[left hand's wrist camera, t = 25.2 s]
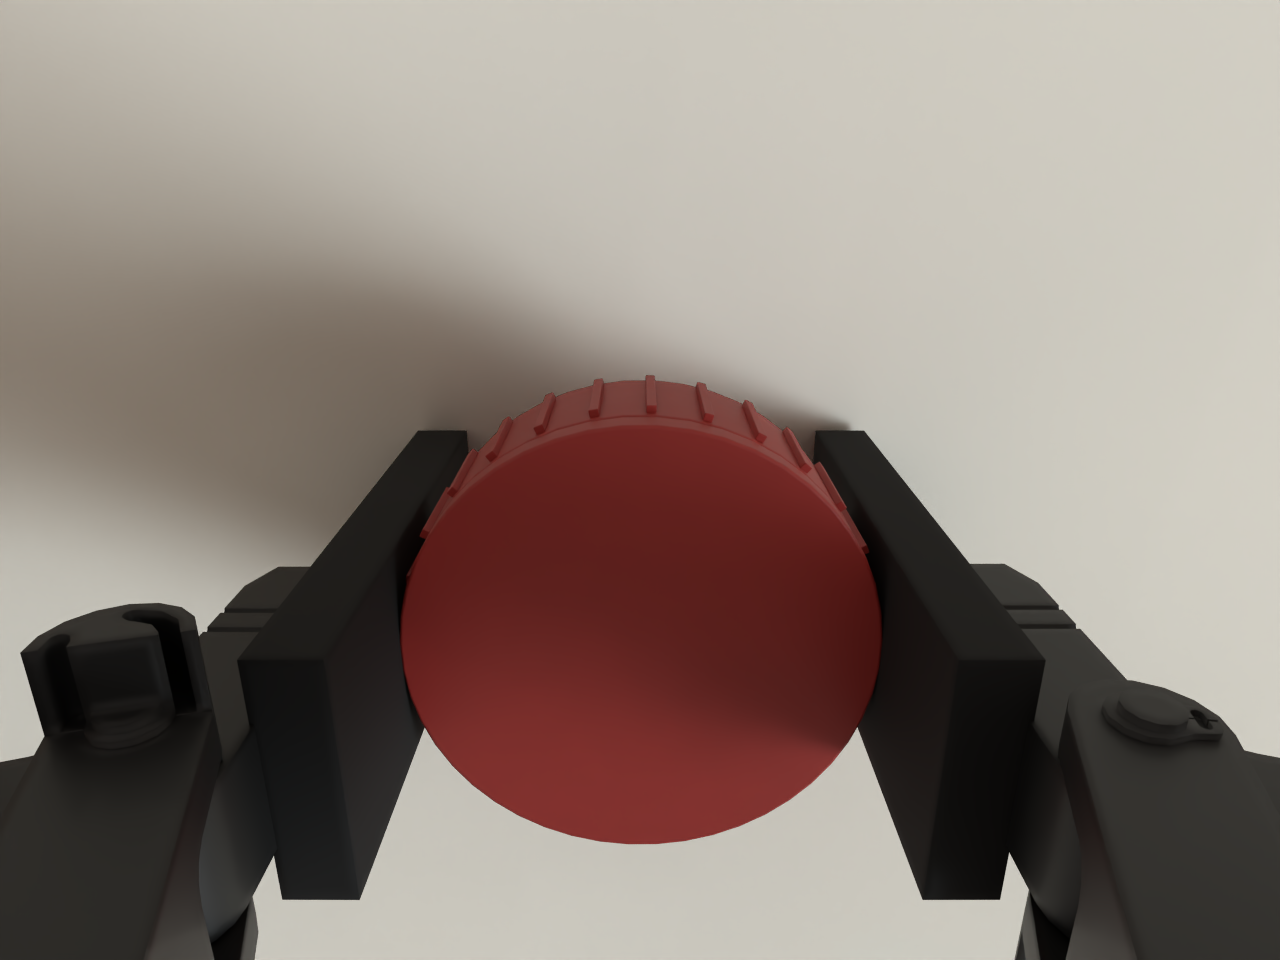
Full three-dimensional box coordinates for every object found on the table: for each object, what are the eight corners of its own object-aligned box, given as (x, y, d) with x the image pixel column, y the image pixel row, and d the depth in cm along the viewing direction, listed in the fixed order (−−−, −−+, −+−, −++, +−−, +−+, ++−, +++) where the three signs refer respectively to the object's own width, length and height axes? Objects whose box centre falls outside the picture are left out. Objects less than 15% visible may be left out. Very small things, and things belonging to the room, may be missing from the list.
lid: (848, 739, 13) (882, 836, 11) (462, 762, 13) (434, 862, 11) (854, 358, 11) (898, 400, 9) (397, 390, 11) (348, 439, 9)
